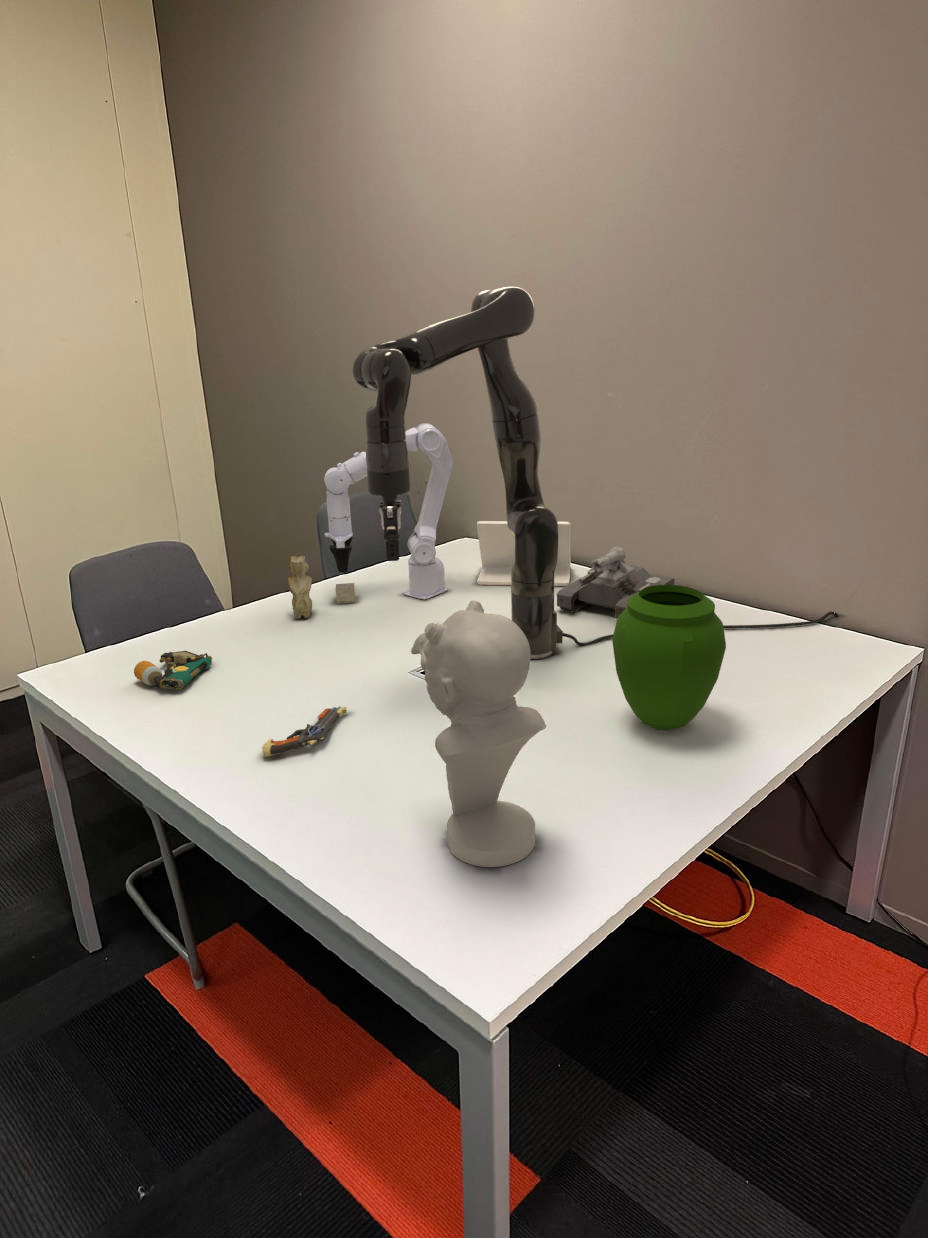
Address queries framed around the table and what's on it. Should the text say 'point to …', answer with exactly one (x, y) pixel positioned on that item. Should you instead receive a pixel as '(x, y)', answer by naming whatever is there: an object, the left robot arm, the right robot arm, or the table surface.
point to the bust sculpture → (481, 729)
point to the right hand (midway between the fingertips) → (393, 553)
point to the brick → (345, 593)
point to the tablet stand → (501, 553)
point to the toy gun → (305, 733)
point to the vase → (668, 654)
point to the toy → (608, 584)
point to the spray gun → (172, 669)
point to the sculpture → (300, 587)
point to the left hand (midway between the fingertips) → (343, 567)
